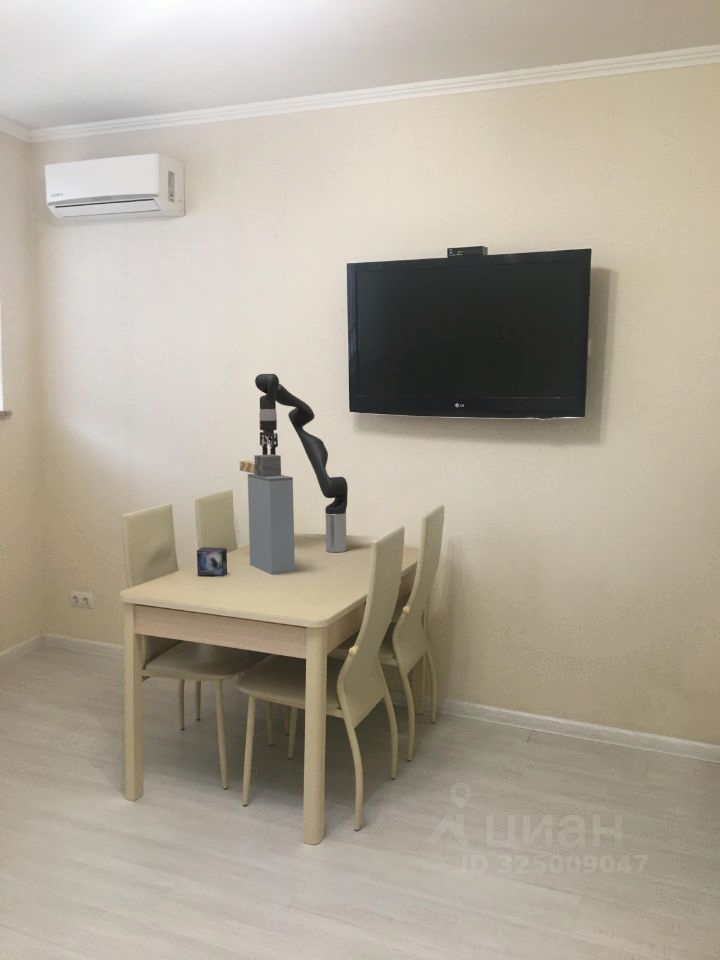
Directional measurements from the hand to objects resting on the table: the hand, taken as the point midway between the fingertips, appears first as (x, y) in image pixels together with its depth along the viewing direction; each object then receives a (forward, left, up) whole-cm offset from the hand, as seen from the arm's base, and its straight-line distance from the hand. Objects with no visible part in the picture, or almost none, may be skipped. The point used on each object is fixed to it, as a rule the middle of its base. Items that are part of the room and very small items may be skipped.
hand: (269, 456), depth 361 cm
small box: (+47, -7, -43) cm, 64 cm away
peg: (+22, +3, -5) cm, 23 cm away
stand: (+31, +12, -43) cm, 54 cm away
